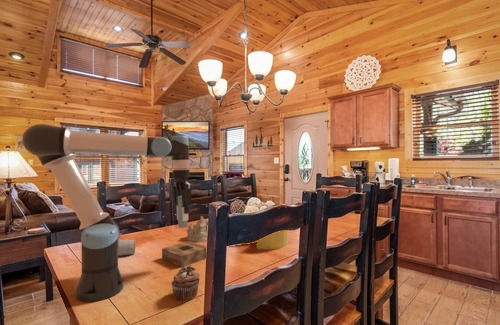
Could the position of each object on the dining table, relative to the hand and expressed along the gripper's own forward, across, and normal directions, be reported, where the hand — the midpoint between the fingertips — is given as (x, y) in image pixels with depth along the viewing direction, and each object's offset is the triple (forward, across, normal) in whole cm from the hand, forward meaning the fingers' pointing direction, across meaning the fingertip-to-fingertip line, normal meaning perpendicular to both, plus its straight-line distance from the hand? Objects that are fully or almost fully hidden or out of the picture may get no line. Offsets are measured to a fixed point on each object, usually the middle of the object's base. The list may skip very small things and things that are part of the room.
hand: (182, 219), depth 123 cm
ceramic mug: (+20, +33, +14) cm, 41 cm away
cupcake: (+21, -26, +16) cm, 36 cm away
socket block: (+21, +6, -4) cm, 22 cm away
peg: (+3, 0, 0) cm, 3 cm away
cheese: (+22, -6, -51) cm, 56 cm away
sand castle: (+21, +28, -30) cm, 46 cm away
